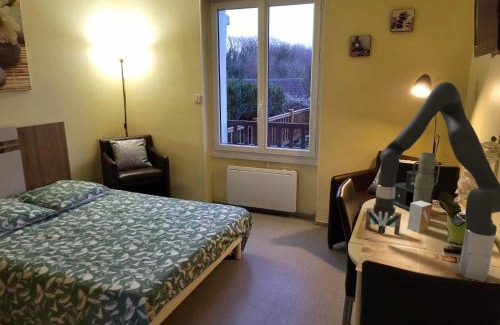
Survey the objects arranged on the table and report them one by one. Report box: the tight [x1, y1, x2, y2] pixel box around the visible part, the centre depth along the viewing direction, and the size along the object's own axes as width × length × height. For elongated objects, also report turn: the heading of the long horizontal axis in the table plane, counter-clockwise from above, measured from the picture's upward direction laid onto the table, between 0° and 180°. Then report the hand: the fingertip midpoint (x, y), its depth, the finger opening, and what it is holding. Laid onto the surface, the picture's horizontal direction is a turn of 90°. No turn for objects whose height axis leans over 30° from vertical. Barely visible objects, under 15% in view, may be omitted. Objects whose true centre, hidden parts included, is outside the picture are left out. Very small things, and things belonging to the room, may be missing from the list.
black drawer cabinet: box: [394, 170, 437, 212], centre depth 203 cm, size 23×11×24 cm, turn 22°
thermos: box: [412, 152, 441, 203], centre depth 183 cm, size 9×12×35 cm
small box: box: [406, 201, 433, 233], centre depth 174 cm, size 8×6×13 cm
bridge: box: [364, 207, 402, 236], centre depth 171 cm, size 3×15×10 cm, turn 68°
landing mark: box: [370, 214, 396, 228], centre depth 184 cm, size 13×13×1 cm
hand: (381, 233), depth 158 cm, fingers closed
